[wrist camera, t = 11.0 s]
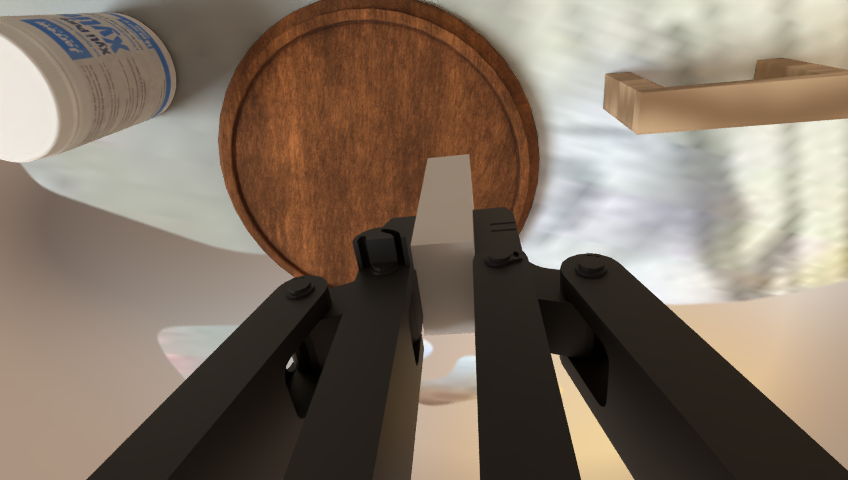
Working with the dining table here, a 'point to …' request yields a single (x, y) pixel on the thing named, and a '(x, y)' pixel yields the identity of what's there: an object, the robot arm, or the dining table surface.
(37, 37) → the supplement tub
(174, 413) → the robot arm
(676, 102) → the bridge
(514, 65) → the dining table surface
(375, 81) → the cutting board
